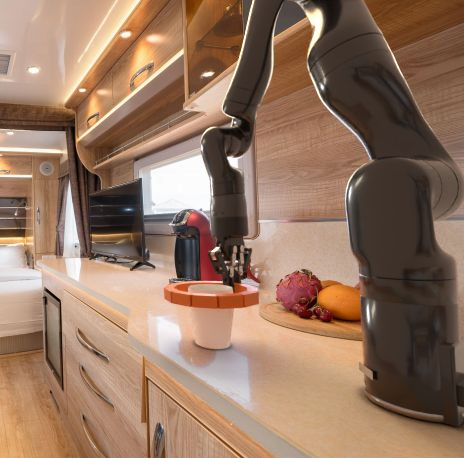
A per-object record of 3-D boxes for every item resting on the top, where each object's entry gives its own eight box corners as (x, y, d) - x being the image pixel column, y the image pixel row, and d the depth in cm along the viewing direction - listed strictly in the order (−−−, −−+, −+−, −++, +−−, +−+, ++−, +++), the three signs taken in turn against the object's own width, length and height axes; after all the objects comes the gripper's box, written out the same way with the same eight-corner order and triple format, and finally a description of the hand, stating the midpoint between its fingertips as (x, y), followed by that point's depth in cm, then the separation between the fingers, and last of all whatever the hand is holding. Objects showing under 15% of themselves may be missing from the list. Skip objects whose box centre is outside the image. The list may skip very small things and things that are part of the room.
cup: (226, 336, 74) (223, 283, 74) (244, 351, 65) (241, 290, 65) (184, 337, 75) (182, 284, 75) (196, 352, 66) (194, 292, 66)
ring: (277, 299, 67) (276, 287, 67) (222, 313, 58) (222, 300, 58) (200, 288, 83) (200, 278, 83) (148, 298, 73) (147, 287, 73)
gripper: (225, 215, 68) (229, 299, 68) (262, 214, 75) (266, 290, 75) (194, 217, 74) (198, 294, 74) (231, 216, 81) (235, 287, 81)
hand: (232, 292), depth 74 cm, fingers closed on ring, 2 cm apart
